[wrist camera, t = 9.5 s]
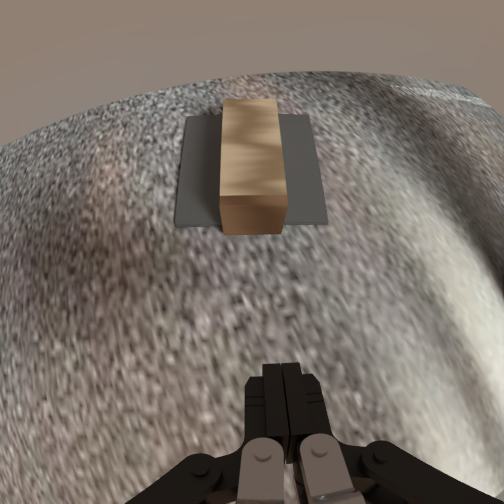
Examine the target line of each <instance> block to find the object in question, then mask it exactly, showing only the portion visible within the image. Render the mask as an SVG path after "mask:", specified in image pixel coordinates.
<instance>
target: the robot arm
mask: <svg viewBox="0 0 504 504" xmlns="http://www.w3.org/2000/svg"><path fill="white" fill-rule="evenodd" d="M285 459H286V464H292V463H293V469H294V475H293V484H294V489H295V493H296V498H297V503H298V504H504V502H503V501H501V500H499V499H496V498H494V497H492V496H490V495H488V494H485V493H483V492H481V491H479V490H477V489H475V488H473V487H471V486H469V485H466V484H464V483H462V482H460V481H458V480H457V479H455V478H453V477H451V476H449V475H447V474H445V473H443V472H441V471H439V470H437V469H436V468H434V467H432V466H430V465H428V464H426V463H425V462H423V461H421V460H419V459H418V458H416V457H414V456H412V455H411V454H409V453H407V452H405V451H404V450H402V449H400V448H399V447H397V446H395V445H394V444H392V443H390V442H388V441H381V440H380V441H374V442H372V443H370V444H369V445H367V446H366V447H360V446H351V445H346V444H343V443H341V442H340V441H338V440H337V439H336V438H335V437H334V436H333V434H332V432H331V428H330V424H329V419H328V415H327V411H326V407H325V403H324V399H323V395H322V390H321V386H320V382H319V381H318V380H317V379H316V378H315V376H314V375H313V374H302V372H301V367H300V363H299V362H296V363H281V365H280V363H278V364H263V365H262V376H261V377H250V378H249V379H248V381H247V383H246V385H245V437H244V442H243V444H242V446H241V447H240V448H239V449H238V450H237V451H235V452H233V453H231V454H229V455H225V456H221V457H217V458H214V457H212V456H210V455H208V454H202V453H198V454H193V455H190V456H188V457H186V458H185V459H184V460H182V461H181V462H180V463H179V464H177V465H176V466H175V467H174V468H172V469H171V470H170V471H169V472H167V473H166V474H165V475H163V476H162V477H161V478H160V479H158V480H157V481H156V482H154V483H153V484H152V485H150V486H149V487H148V488H146V489H145V490H143V491H142V492H141V493H139V494H138V495H136V496H135V497H134V498H132V499H131V500H129V501H128V502H126V503H125V504H226V503H230V502H234V501H236V503H235V504H284V502H283V483H284V464H285Z"/></svg>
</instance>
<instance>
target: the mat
mask: <svg viewBox="0 0 504 504" xmlns="http://www.w3.org/2000/svg"><path fill="white" fill-rule="evenodd" d="M222 119H223V114H221V115H201V116H188V117H187V124H186V130H185V137H184V144H183V152H182V160H181V168H180V176H179V185H178V194H177V205H176V215H175V226H176V227H203V226H222V220H221V214H220V208H219V206H220V170H221V142H222ZM278 119H279V127H280V135H281V144H282V152H283V161H284V171H285V180H286V190H287V200H288V209H287V213H286V217H285V220H284V224H283V225H327V223H328V217H327V210H326V204H325V198H324V192H323V186H322V180H321V174H320V169H319V163H318V158H317V153H316V148H315V143H314V138H313V133H312V128H311V123H310V119H309V115H292V114H278Z"/></svg>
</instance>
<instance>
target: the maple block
mask: <svg viewBox="0 0 504 504" xmlns="http://www.w3.org/2000/svg"><path fill="white" fill-rule="evenodd" d="M219 208H220V214H221V220H222V227H223V233H224V235H260V234H281V232H282V228H283V224H284V220H285V217H286V213H287V209H288V200H287V190H286V180H285V171H284V161H283V152H282V144H281V135H280V127H279V119H278V111H277V104H276V100H275V99H234V100H223V119H222V142H221V170H220V206H219Z"/></svg>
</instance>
